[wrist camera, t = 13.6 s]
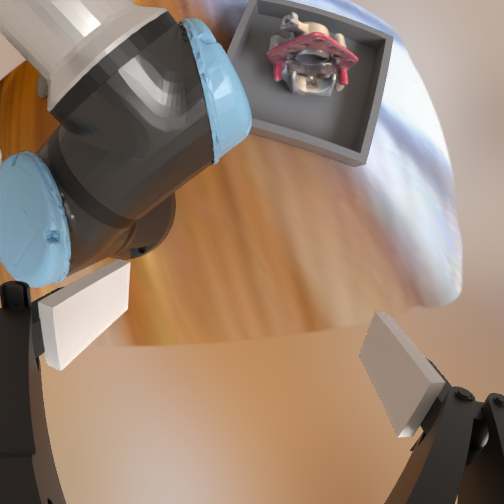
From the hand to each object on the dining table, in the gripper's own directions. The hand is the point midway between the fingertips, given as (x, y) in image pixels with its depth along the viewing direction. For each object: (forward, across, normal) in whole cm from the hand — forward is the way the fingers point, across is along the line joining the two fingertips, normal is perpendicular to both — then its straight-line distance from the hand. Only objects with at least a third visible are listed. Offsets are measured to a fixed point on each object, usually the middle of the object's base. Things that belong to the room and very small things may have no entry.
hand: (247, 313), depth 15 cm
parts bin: (+26, +2, +23) cm, 34 cm away
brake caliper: (+25, +2, +24) cm, 35 cm away
